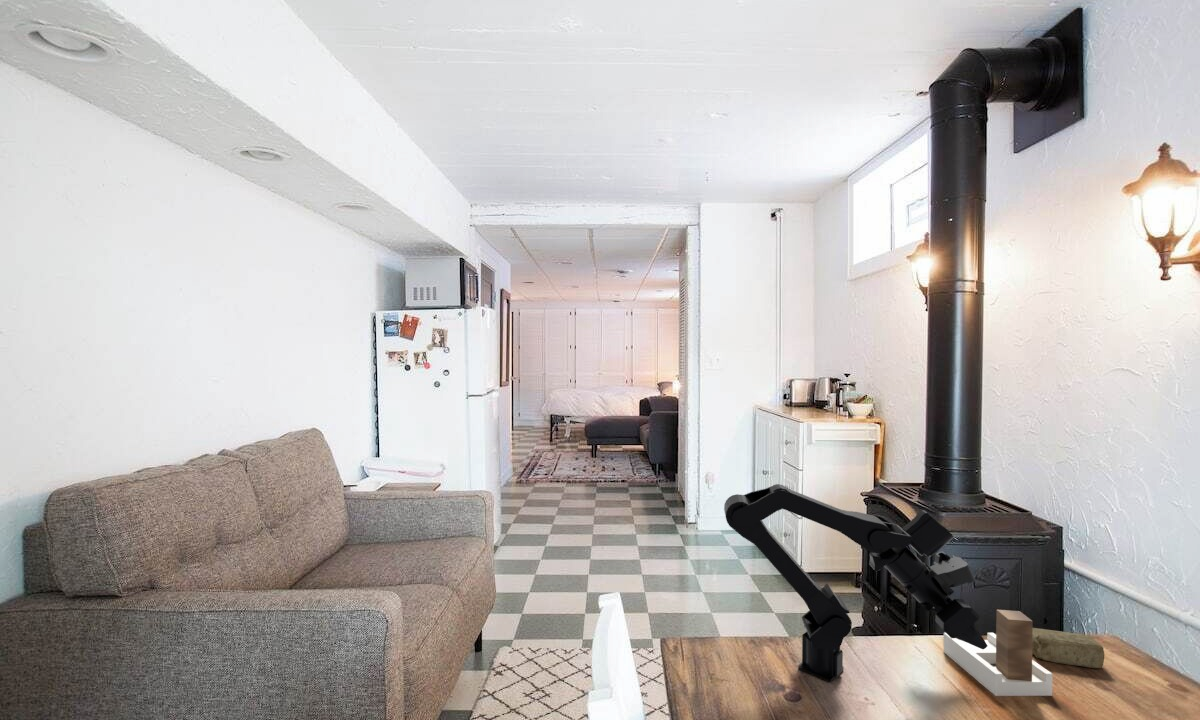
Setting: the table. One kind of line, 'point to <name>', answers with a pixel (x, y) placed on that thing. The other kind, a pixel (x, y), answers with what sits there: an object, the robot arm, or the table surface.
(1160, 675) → the table surface
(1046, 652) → the stone block
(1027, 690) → the walled channel
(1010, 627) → the walnut block
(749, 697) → the table surface
